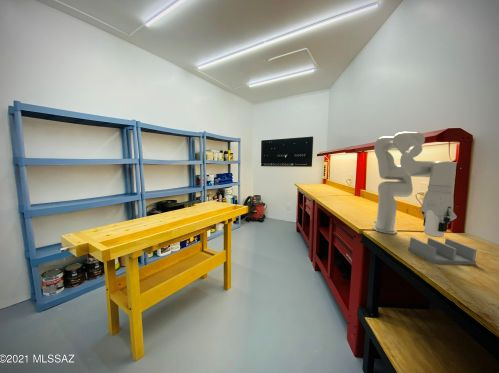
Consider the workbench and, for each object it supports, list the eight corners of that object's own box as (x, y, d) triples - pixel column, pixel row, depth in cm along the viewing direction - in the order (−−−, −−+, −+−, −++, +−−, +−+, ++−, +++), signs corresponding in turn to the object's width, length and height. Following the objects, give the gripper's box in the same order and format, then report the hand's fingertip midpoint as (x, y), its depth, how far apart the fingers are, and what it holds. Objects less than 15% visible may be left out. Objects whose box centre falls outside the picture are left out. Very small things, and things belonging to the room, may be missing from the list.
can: (436, 237, 82) (439, 210, 80) (420, 232, 88) (423, 207, 86) (447, 237, 83) (451, 210, 81) (430, 231, 89) (434, 207, 88)
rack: (408, 249, 93) (409, 236, 92) (444, 250, 93) (446, 238, 92) (433, 263, 80) (435, 248, 80) (475, 264, 80) (478, 250, 79)
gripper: (414, 187, 92) (410, 222, 94) (452, 192, 74) (445, 235, 76) (429, 187, 92) (425, 223, 94) (471, 192, 74) (464, 236, 76)
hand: (434, 228), depth 85 cm, fingers closed on can, 6 cm apart
